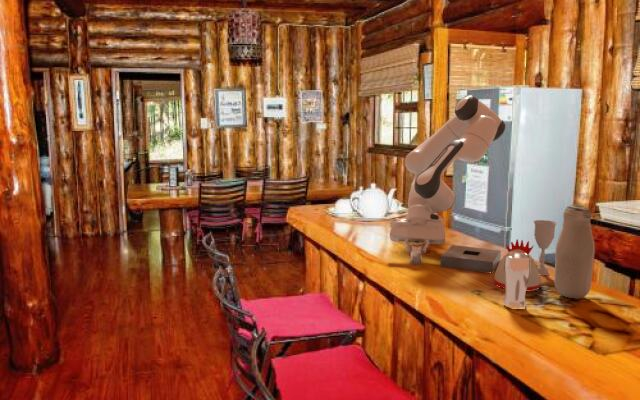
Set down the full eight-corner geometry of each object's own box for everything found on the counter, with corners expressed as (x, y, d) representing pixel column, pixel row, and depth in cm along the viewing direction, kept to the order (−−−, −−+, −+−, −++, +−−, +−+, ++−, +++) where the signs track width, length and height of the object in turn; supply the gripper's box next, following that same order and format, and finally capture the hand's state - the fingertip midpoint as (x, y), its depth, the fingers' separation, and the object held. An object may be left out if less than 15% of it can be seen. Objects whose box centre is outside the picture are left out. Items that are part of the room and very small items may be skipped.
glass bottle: (594, 297, 159) (602, 205, 155) (582, 305, 152) (591, 209, 147) (559, 289, 166) (567, 201, 162) (547, 297, 159) (554, 205, 154)
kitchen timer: (535, 295, 161) (538, 246, 159) (489, 287, 168) (491, 241, 166) (543, 283, 173) (546, 238, 170) (500, 276, 180) (502, 232, 178)
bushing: (411, 260, 198) (412, 239, 197) (424, 262, 196) (425, 241, 194) (407, 264, 194) (408, 242, 192) (420, 265, 191) (421, 244, 190)
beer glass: (497, 302, 154) (500, 252, 152) (520, 301, 155) (524, 251, 152) (508, 311, 147) (511, 258, 145) (532, 310, 148) (535, 258, 146)
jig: (452, 254, 206) (452, 244, 206) (500, 260, 198) (501, 250, 198) (440, 266, 191) (440, 255, 190) (492, 273, 182) (493, 262, 182)
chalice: (552, 271, 185) (556, 221, 182) (553, 277, 178) (557, 224, 176) (529, 269, 187) (533, 219, 184) (530, 275, 181) (534, 223, 178)
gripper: (390, 214, 201) (387, 245, 193) (446, 216, 196) (445, 248, 189) (391, 223, 206) (388, 254, 198) (445, 226, 201) (444, 257, 194)
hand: (416, 251), depth 193 cm, fingers closed on bushing, 4 cm apart
